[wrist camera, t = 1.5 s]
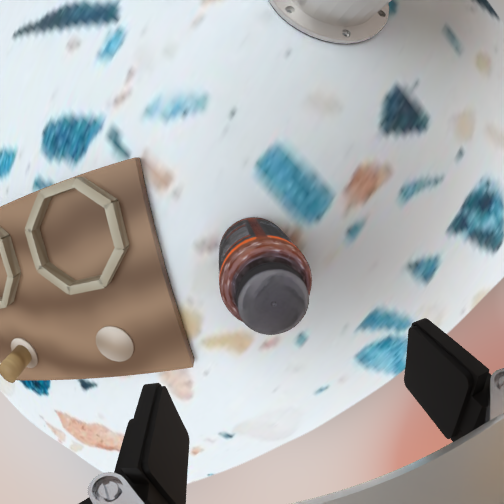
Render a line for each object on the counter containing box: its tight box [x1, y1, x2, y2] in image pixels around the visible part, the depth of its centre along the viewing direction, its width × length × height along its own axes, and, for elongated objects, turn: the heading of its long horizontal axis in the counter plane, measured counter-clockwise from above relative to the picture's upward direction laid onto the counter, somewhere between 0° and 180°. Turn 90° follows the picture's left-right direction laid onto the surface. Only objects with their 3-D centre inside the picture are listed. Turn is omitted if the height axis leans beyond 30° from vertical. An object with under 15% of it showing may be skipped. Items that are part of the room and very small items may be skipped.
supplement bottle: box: [219, 218, 312, 335], centre depth 22 cm, size 6×6×11 cm
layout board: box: [0, 158, 194, 383], centre depth 24 cm, size 20×26×6 cm
